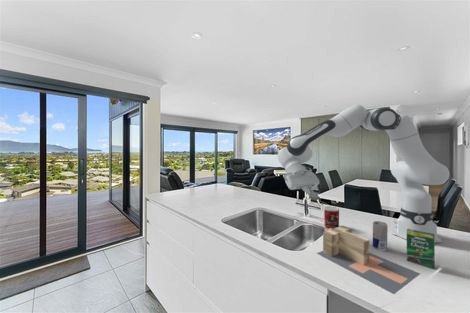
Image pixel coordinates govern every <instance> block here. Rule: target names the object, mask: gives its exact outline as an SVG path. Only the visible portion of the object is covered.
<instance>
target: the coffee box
mask: <svg viewBox="0 0 470 313" xmlns="http://www.w3.org/2000/svg"><path fill="white" fill-rule="evenodd" d="M435 250H436V248H435V243H434V234H432V233H426V232H422V231H417V230H413V229H407V240H406V262H407V261H408V262H410V263H413V264H416V265H418V266H422V267H426V268H428V269H431V270H434V269H435V265H436V264H435Z"/></svg>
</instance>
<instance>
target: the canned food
mask: <svg viewBox="0 0 470 313" xmlns="http://www.w3.org/2000/svg"><path fill="white" fill-rule="evenodd" d="M323 214H324V217H323V218H324V219H323V220H324V223H323V224H324V225H323V226H324V227H325V228H326V229H329V230H331V229H334V228H337V227H340V209H339V208H338V207H336V206H325V207H324V213H323Z"/></svg>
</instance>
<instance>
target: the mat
mask: <svg viewBox="0 0 470 313" xmlns="http://www.w3.org/2000/svg"><path fill="white" fill-rule="evenodd" d="M316 254H317V255H319V256H321V257H323V259H327V260H329V261H330V262H333V263H334V264H336V265H338V266H340V267H342V268H343V269H345V270H347V271H349V272H350V273H353V274H355V276H359V277H361V278H362V279H364V280H366V281H368V282H370V283H372V284H374V285H375V286H377V287H380V288H381V289H383V290H385V291H387V292H389V293H390V294H392V295H395V294H397V293H398V292H399V291H400V290H402V288H404V287H405V286H406V285H408V284H409V283H410V282H412V281H413V280H414V279H416V277H418V276H419V275H421V273H420V272H417V271H415V270H412V269H410V268H408V267H405V266H403V265H400V264H398V263H396V262H393V261H391V260H388V259H386V258H383V257H382V256H378V255H376V254H374V253H371V252H369V263H367V264H365V265H362V264H360V263H358V262H356V261H354V260H351V259H349V258H347V257H345V256H343V255H341V254H337V255H335V256H332V257H331V256H329V255H327V254H325V253H323V250H322V251H319V252H317V253H316Z"/></svg>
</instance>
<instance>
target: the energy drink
mask: <svg viewBox="0 0 470 313" xmlns="http://www.w3.org/2000/svg"><path fill="white" fill-rule="evenodd" d="M388 227H389V225H388V224H387V223H386V222H384V221H380V220H379V221H378V220H375V221H373V222H372V248H373V249H374V250H377V251H380V252H387V251H388V230H389V229H388Z"/></svg>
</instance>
